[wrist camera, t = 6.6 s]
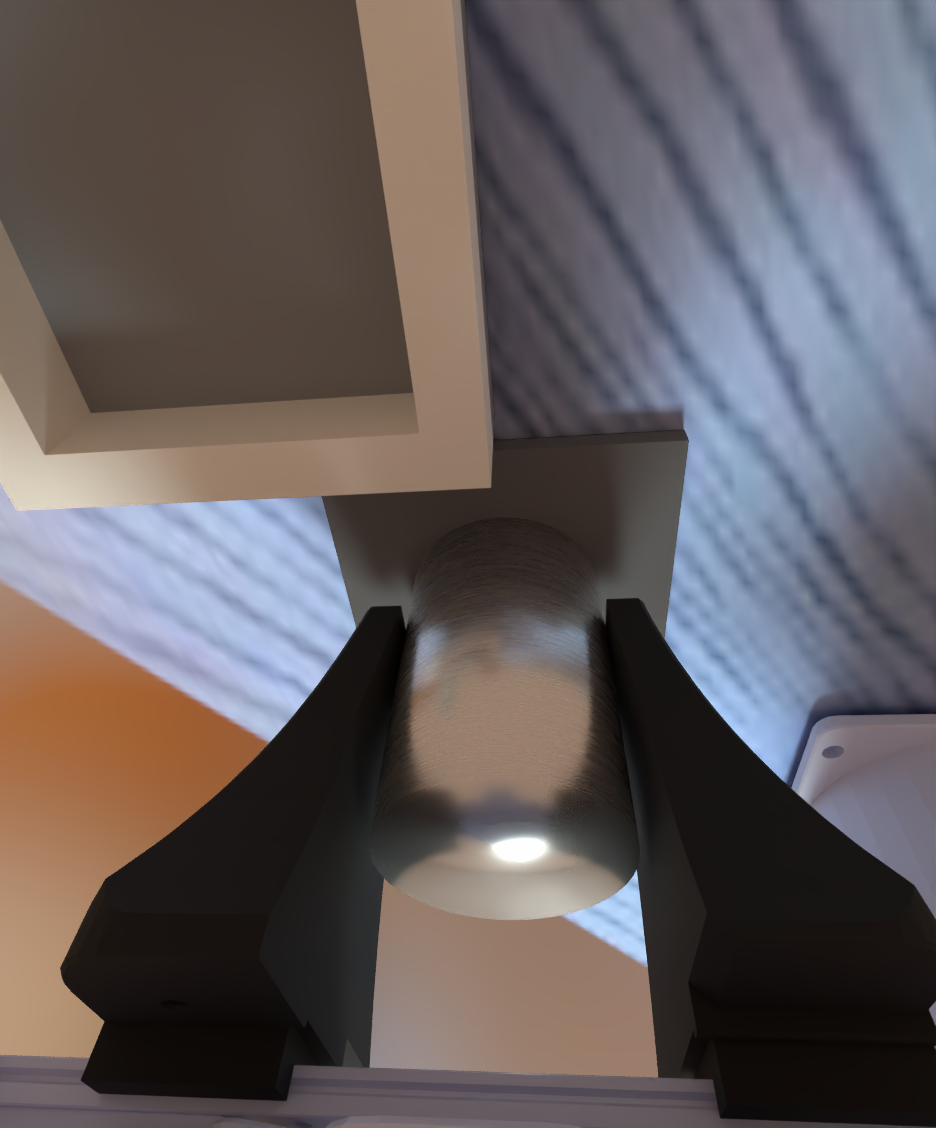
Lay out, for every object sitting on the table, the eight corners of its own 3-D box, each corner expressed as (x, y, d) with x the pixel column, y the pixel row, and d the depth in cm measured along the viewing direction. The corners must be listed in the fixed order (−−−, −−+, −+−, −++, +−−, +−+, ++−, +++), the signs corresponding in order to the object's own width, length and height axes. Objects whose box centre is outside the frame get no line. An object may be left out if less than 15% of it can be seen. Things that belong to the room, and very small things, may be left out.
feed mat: (654, 684, 17) (656, 696, 17) (378, 690, 18) (375, 702, 17) (684, 429, 13) (688, 440, 12) (317, 450, 13) (312, 460, 13)
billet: (596, 655, 16) (631, 921, 11) (426, 659, 16) (391, 918, 11) (602, 512, 13) (650, 776, 9) (401, 521, 14) (343, 778, 9)
